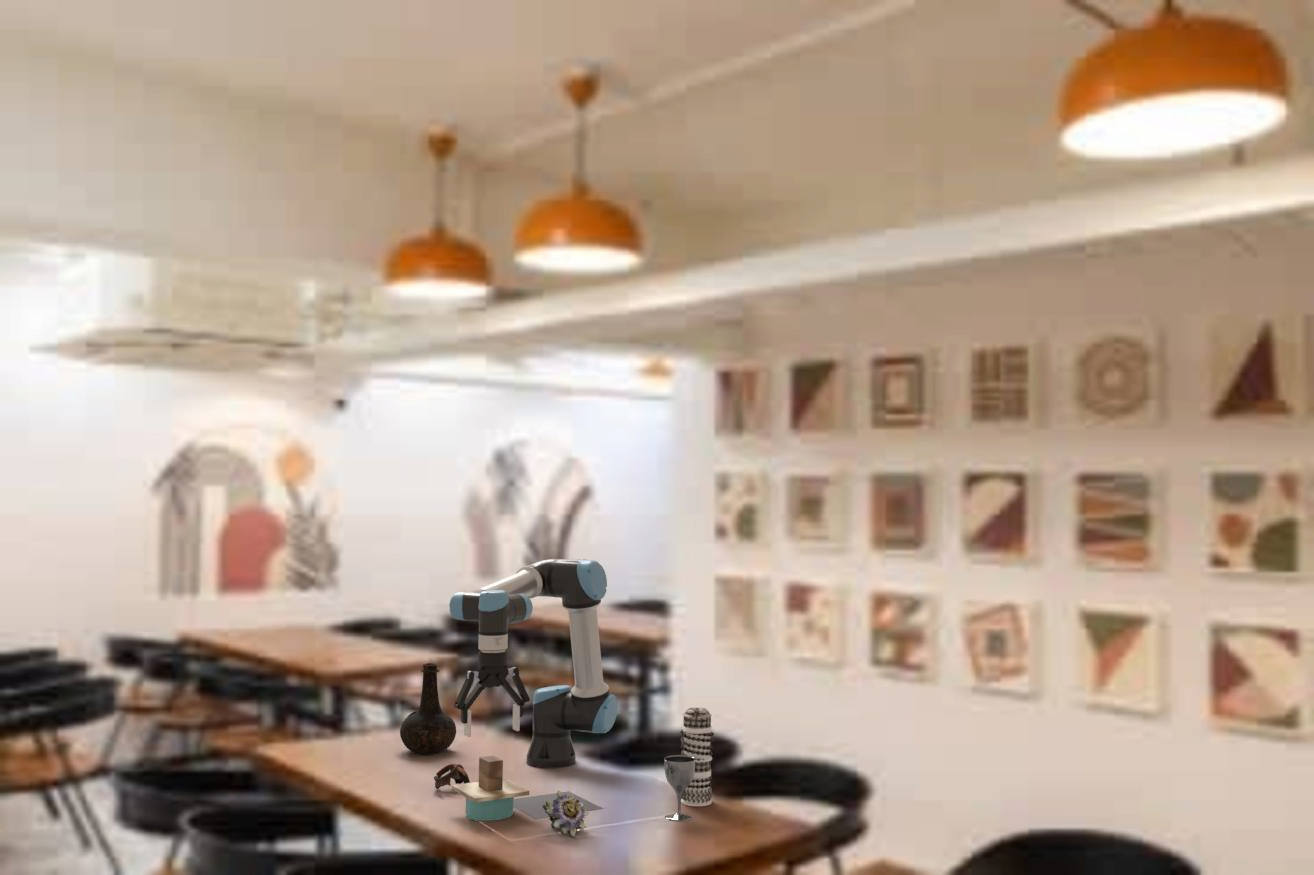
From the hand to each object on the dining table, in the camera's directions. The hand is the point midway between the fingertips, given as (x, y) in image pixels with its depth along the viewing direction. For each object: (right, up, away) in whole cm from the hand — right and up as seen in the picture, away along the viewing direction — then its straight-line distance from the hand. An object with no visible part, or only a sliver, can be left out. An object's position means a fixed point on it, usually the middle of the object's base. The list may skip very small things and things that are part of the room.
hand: (492, 733), depth 298 cm
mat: (+15, -22, +8) cm, 27 cm away
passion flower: (+20, -21, -15) cm, 32 cm away
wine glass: (+48, -22, -1) cm, 53 cm away
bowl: (0, -21, -1) cm, 21 cm away
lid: (0, -15, -1) cm, 15 cm away
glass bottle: (-31, -24, +70) cm, 81 cm away
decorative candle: (+53, -23, +14) cm, 60 cm away
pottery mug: (-14, -22, +24) cm, 36 cm away
